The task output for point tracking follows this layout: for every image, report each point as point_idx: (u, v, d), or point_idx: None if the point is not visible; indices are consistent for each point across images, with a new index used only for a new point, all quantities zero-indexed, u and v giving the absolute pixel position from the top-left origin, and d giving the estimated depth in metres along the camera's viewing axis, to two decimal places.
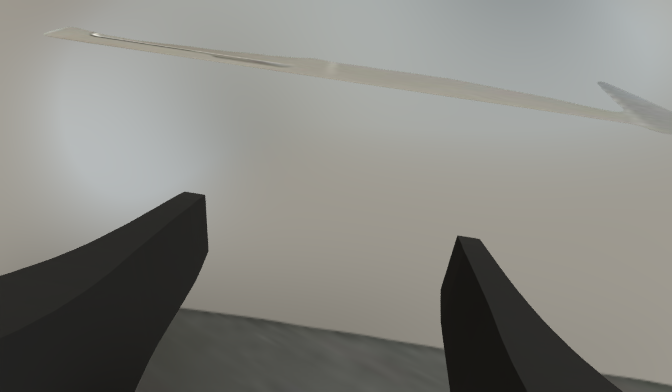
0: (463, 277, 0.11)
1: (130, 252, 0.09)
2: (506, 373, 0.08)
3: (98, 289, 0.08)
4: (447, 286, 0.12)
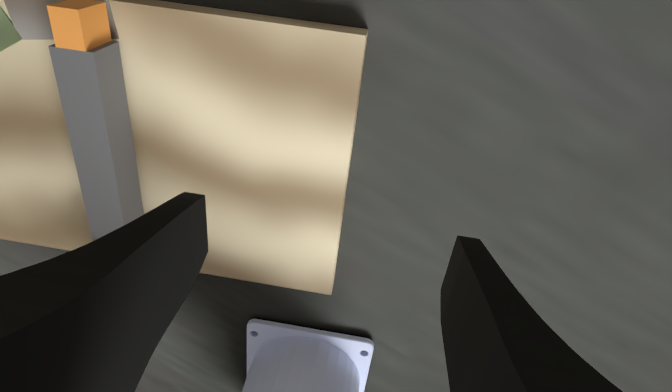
0: (463, 277, 0.11)
1: (130, 252, 0.09)
2: (506, 373, 0.08)
3: (98, 289, 0.08)
4: (447, 286, 0.12)
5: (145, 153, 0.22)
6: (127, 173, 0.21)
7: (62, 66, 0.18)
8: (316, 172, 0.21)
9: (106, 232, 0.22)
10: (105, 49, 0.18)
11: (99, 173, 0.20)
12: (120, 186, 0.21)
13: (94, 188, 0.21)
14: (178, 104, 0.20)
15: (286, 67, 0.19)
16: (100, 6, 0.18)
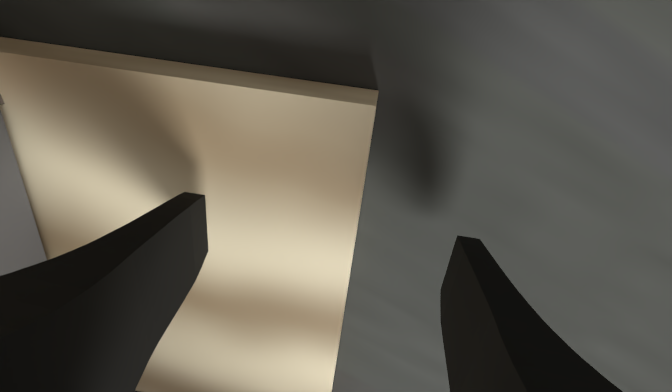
0: (463, 277, 0.11)
1: (130, 252, 0.09)
2: (506, 373, 0.08)
3: (98, 289, 0.08)
4: (447, 286, 0.12)
5: (63, 253, 0.16)
6: None
7: None
8: (303, 285, 0.15)
9: None
10: None
11: None
12: None
13: None
14: (101, 193, 0.14)
15: (254, 148, 0.12)
16: None
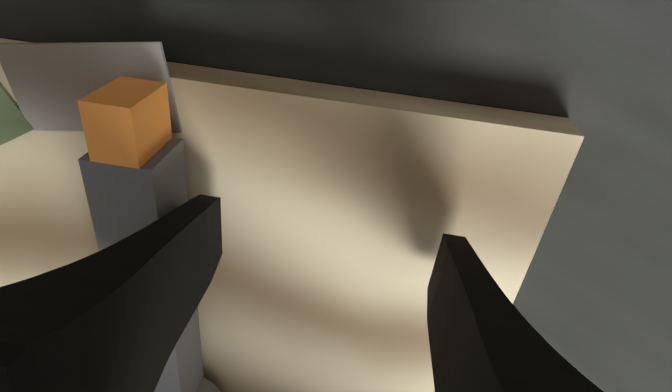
0: (447, 274, 0.11)
1: (150, 255, 0.09)
2: (484, 369, 0.08)
3: (121, 293, 0.08)
4: (433, 284, 0.13)
5: None
6: None
7: (99, 187, 0.11)
8: None
9: None
10: (166, 158, 0.11)
11: None
12: None
13: None
14: (264, 220, 0.14)
15: (441, 177, 0.12)
16: (160, 91, 0.11)
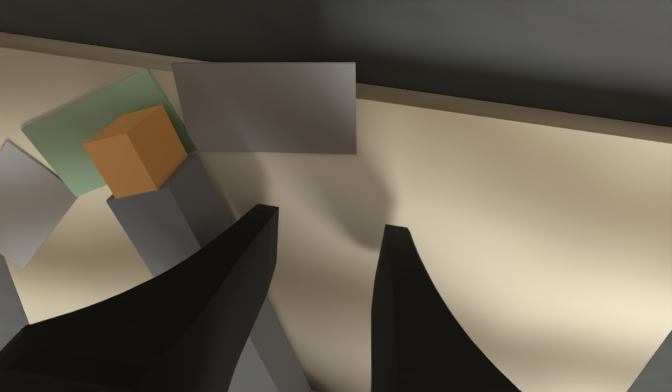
0: (383, 264, 0.11)
1: (229, 269, 0.09)
2: (393, 353, 0.08)
3: (209, 308, 0.08)
4: (376, 274, 0.13)
5: (350, 299, 0.15)
6: (265, 328, 0.14)
7: (134, 221, 0.11)
8: (615, 334, 0.14)
9: None
10: (183, 174, 0.11)
11: None
12: (263, 352, 0.14)
13: None
14: (425, 242, 0.13)
15: (628, 200, 0.12)
16: (157, 114, 0.11)
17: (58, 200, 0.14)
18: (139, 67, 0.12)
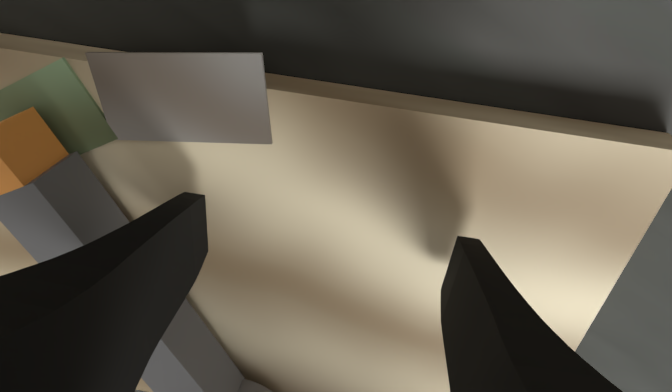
0: (463, 277, 0.11)
1: (130, 252, 0.09)
2: (506, 373, 0.08)
3: (98, 289, 0.08)
4: (447, 286, 0.12)
5: (281, 290, 0.15)
6: (175, 317, 0.15)
7: (13, 220, 0.12)
8: None
9: None
10: (55, 170, 0.12)
11: None
12: (170, 341, 0.14)
13: None
14: (347, 232, 0.14)
15: (537, 191, 0.12)
16: (25, 115, 0.12)
17: None
18: (56, 56, 0.12)
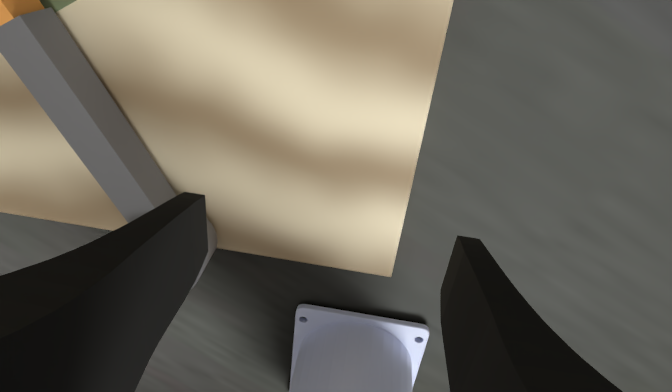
0: (463, 277, 0.11)
1: (130, 252, 0.09)
2: (506, 373, 0.08)
3: (98, 289, 0.08)
4: (447, 286, 0.12)
5: (203, 124, 0.21)
6: (124, 140, 0.20)
7: (7, 47, 0.18)
8: (387, 143, 0.20)
9: (135, 210, 0.21)
10: (34, 13, 0.18)
11: (95, 146, 0.20)
12: (120, 152, 0.20)
13: (100, 165, 0.20)
14: (243, 69, 0.19)
15: (364, 27, 0.18)
16: None
17: None
18: None
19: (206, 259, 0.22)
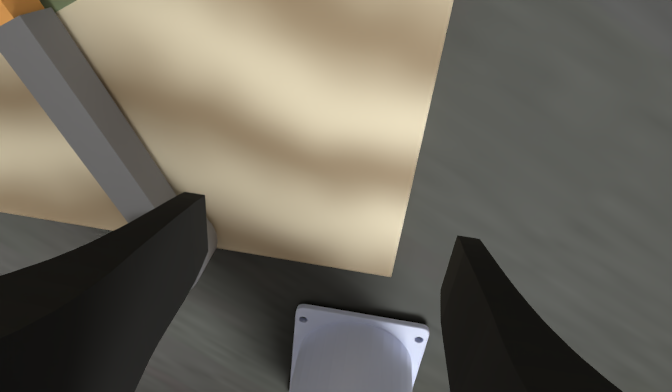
0: (463, 277, 0.11)
1: (130, 252, 0.09)
2: (506, 373, 0.08)
3: (98, 289, 0.08)
4: (447, 286, 0.12)
5: (203, 124, 0.21)
6: (124, 140, 0.20)
7: (7, 47, 0.18)
8: (387, 143, 0.20)
9: (135, 210, 0.21)
10: (34, 13, 0.18)
11: (95, 146, 0.20)
12: (120, 152, 0.20)
13: (100, 165, 0.20)
14: (243, 69, 0.19)
15: (364, 27, 0.18)
16: None
17: None
18: None
19: (206, 259, 0.22)
